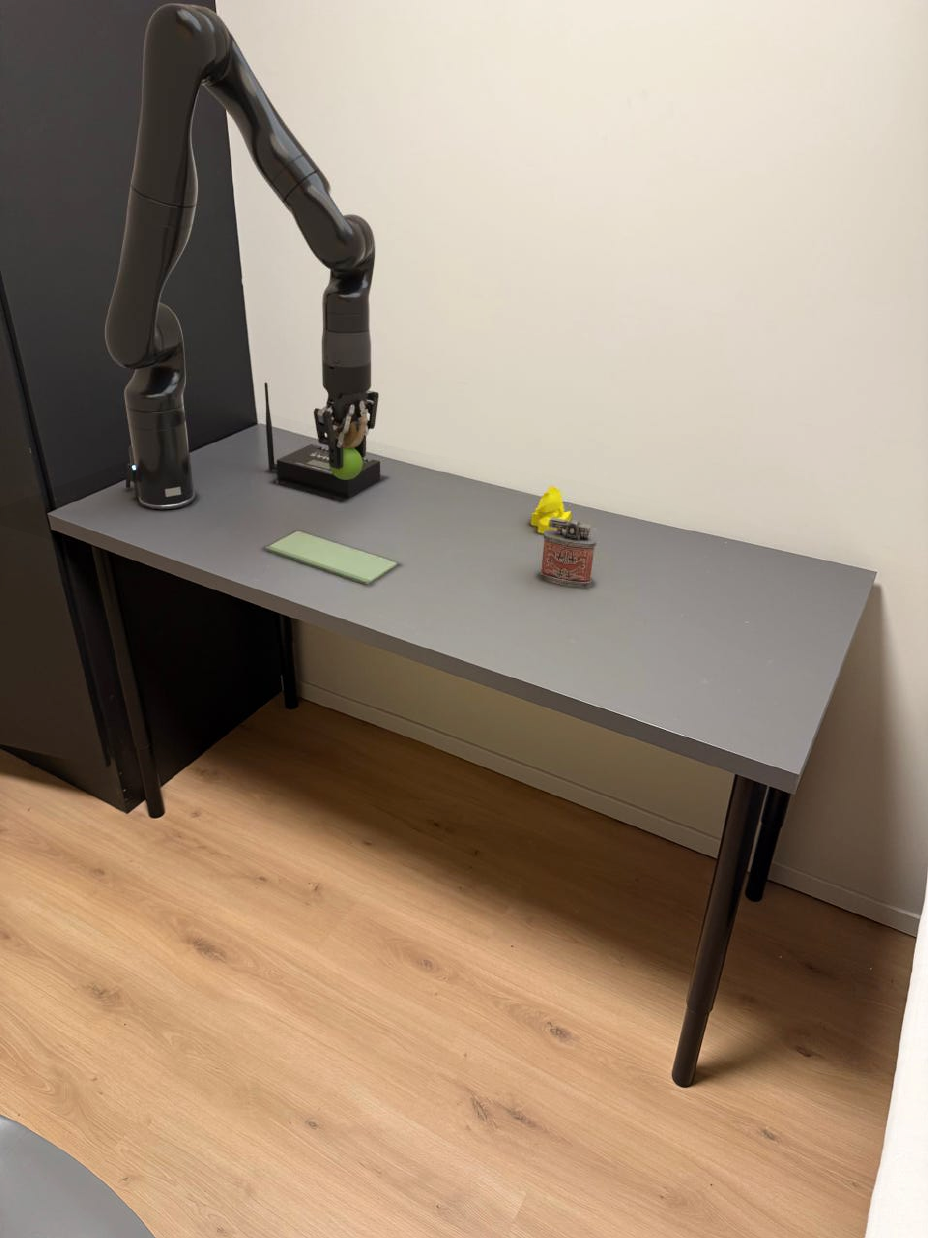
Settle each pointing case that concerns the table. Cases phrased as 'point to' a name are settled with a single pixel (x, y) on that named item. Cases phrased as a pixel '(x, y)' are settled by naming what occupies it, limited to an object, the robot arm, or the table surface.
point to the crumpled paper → (549, 510)
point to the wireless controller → (316, 469)
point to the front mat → (331, 557)
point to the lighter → (568, 553)
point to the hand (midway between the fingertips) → (347, 461)
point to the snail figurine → (351, 450)
